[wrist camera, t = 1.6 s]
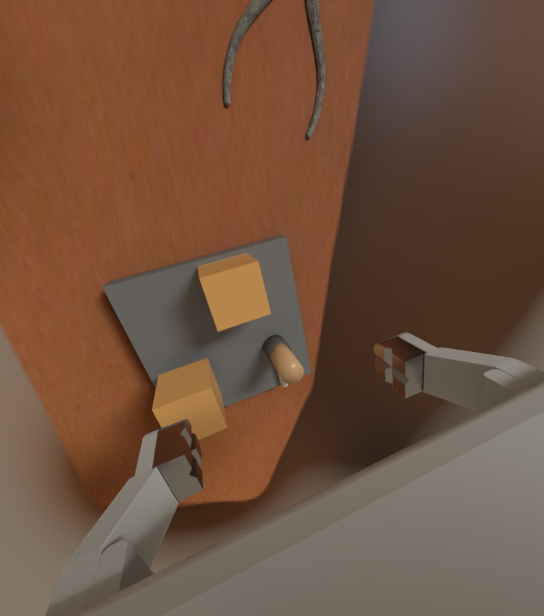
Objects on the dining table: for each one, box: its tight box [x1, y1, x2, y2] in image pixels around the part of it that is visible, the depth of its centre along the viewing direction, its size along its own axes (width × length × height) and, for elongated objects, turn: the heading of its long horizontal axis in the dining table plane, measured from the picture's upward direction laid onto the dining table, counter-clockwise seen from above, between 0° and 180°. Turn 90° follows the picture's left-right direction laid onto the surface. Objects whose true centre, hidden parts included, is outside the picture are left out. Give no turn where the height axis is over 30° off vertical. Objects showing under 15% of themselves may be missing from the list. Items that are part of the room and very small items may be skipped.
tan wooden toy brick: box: [197, 253, 271, 332], centre depth 24 cm, size 5×5×5 cm
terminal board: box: [102, 235, 312, 440], centre depth 26 cm, size 18×18×9 cm
